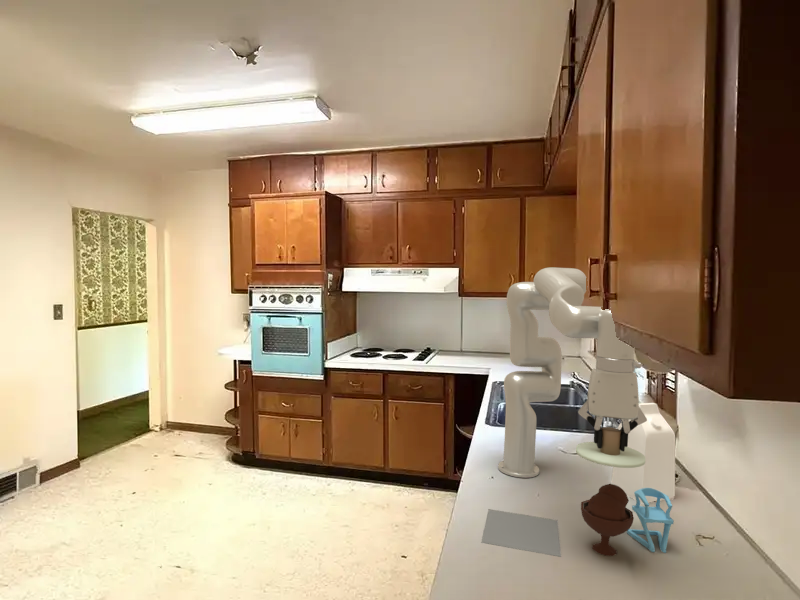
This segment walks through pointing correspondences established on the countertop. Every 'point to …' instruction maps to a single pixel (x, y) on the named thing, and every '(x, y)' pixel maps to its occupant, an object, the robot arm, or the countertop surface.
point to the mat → (522, 532)
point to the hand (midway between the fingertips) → (610, 447)
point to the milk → (649, 456)
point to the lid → (610, 451)
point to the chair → (652, 518)
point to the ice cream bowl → (607, 516)
